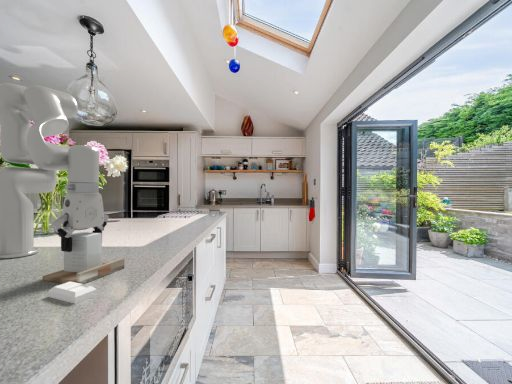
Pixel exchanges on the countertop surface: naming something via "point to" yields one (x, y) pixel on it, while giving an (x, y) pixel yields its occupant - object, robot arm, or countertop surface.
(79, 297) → the soap bar
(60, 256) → the countertop surface
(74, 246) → the small box
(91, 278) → the shelf board
